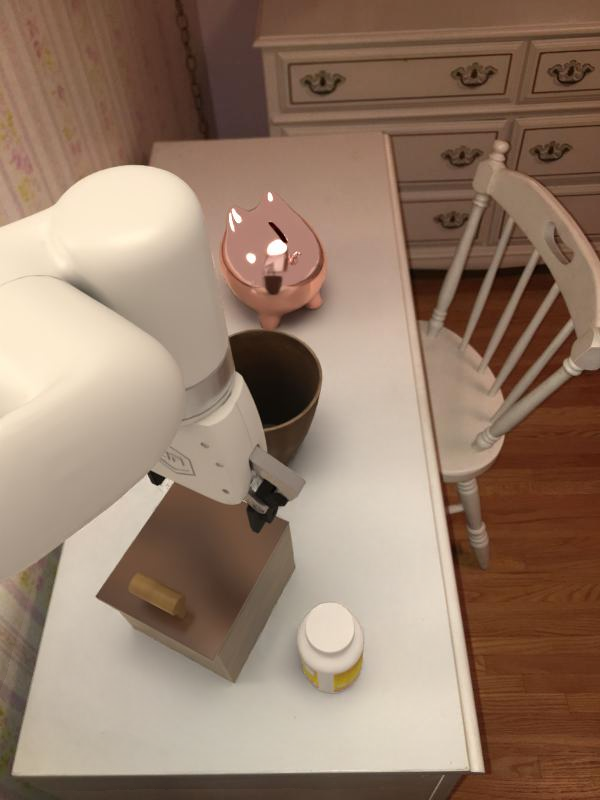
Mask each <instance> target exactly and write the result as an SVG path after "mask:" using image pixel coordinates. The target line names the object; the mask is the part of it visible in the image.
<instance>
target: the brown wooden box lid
mask: <svg viewBox="0 0 600 800" xmlns="http://www.w3.org/2000/svg"><path fill="white" fill-rule="evenodd" d="M247 506H248V503H247V502H246V501H245V500H242V501H241V503H239V504H235V505H229V504H224V503H221V502H218V501H216V500H214V499H211V498H209V497H207V496H205V495H202V494H200V493H198V492H196V491H194V490H191V489H189V488H187V487H185V486H183V485H181V484H178V483H176V482H174V481H173V483H172V484H171V486H170V487H169V488H168V490H167V492H166V493H165V495H164V496H162V498H161V500H160V502H159V503H158V505H157V506H156V507H155V508H154V510H153V511H152V513H151V515H150V516H149V517H148V519H147V520H146V522H145V523H144V525H143V526H142V528H141V529H140V531H138V533H137V535H136V536H135V538H134V539H133V541H132V542H131V544H130V545H129V547H128V548H127V549H126V551H125V552H124V554H123V555H122V556H121V558H120V559H119V561H118V562H117V564H116V565H115V567H114V568H113V570H112V571H111V572H110V574H109V576H108V577H107V579H106V580H105V581H104V583H103V584H102V586H101V587H100V589H99V590H98V591H97V593H96V594H95V596H94V598H95V599H97V600H98V601H100V602H101V603H103V604H105V605H107V606H108V607H111V608H112V609H115V610H116V611H117V612H119V611H120V612H122V613H123V614H125V615H127V616H129V617H131V618H133V619H134V620H136V621H138V622H140V623H142V624H144V625H145V626H147V627H149V628H151V629H153V630H155V631H156V632H158V633H160V634H162V635H164V636H165V637H167V638H169V639H171V640H173V641H175V642H176V643H178V644H180V645H182V646H184V647H186V648H187V649H189V650H191V651H193V652H195V653H197V654H198V655H200V656H202V657H204V658H206V659H208V660H209V661H211V662H214V661H215V659H216V657H217V656H218V654H219V652H220V650H221V648H222V647H223V645H224V643H225V641H226V639H227V637H228V636H229V634H230V632H231V630H232V628H233V627H234V625H235V623H236V621H237V619H238V618H239V616H240V614H241V612H242V610H243V609H244V607H245V605H246V603H247V601H248V599H249V598H250V596H251V594H252V592H253V590H254V589H255V587H256V585H257V583H258V581H259V580H260V578H261V576H262V574H263V572H264V570H265V569H266V567H267V565H268V563H269V561H270V560H271V558H272V556H273V554H274V552H275V551H276V549H277V547H278V545H279V543H280V542H281V540H282V538H283V536H284V534H285V532H286V531H287V529H288V527H289V525H290V521H288V520H286V519H284V518H283V517H282V518H281V517H280V516H277V515H276V516H275V518H274V520H273V521H272V522H271V523H270V524H269V523H267V522H265V524H264V526H263V528H262V529H261V531H260V532H259V533H255V532H253V531H252V529H251V528H250V523H249V519H248V515H247V511H246V509H247ZM120 612H119V613H120Z"/></svg>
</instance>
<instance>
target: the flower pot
mask: <svg viewBox="0 0 600 800" xmlns="http://www.w3.org/2000/svg"><path fill="white" fill-rule="evenodd" d="M228 337H229V342H230V347H231V352H232V357H233V361H234V366H235V371H236V372H238V373H239V374H240V375H241V376H242V377H243V379H244V381H245V383H246V385H247V387H248V389H249V391H250V394H251V396H252V398H253V400H254V403H255V405H256V408H257V411H258V414H259V417H260V420H261V423H262V427H263V430H264V435H265V440H266V445H267V453H268V454H270V455H271V456H273V457H274V458H275V459H277V460H278V461H280V462H281V463H282V464H284V465H285V466H287V465H288V464H289V463H290V462H291V461H292V460H293V458H294V457H295V455H296V454H297V452H298V451H299V450H300V448H301V446H302V444H303V443H304V442H305V439H306V437H307V435H308V432H309V430H310V428H311V426H312V423H313V420H314V417H315V414H316V411H317V408H318V405H319V400H320V397H321V396H320V395H321V391H322V385H323V369H322V365H321V362H320V360H319V358H318V355H317V354H316V353H315V351H314V350H313V348H311V346H310V345H308V344H307V343H306V342H305V341H303V340H302V339H300V338H299V337H297V336H295V335H293V334H291V333H288V332H285V331H283V330H279V329H275V330H273V329H263V328H251V329H245V330H241V331H238V332H234V333H231V334H230V335H229V334H228Z"/></svg>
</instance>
